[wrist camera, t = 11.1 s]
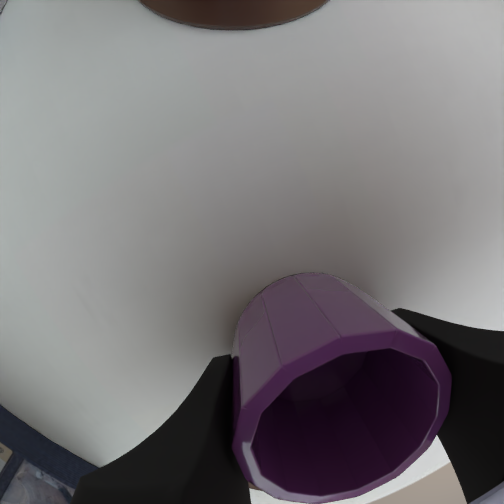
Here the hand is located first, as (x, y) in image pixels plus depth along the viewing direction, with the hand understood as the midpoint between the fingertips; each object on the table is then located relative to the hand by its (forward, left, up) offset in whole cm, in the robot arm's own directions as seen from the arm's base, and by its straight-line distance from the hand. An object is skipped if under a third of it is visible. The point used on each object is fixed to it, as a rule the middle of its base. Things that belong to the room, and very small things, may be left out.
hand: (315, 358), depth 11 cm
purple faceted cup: (0, 0, -1) cm, 1 cm away
